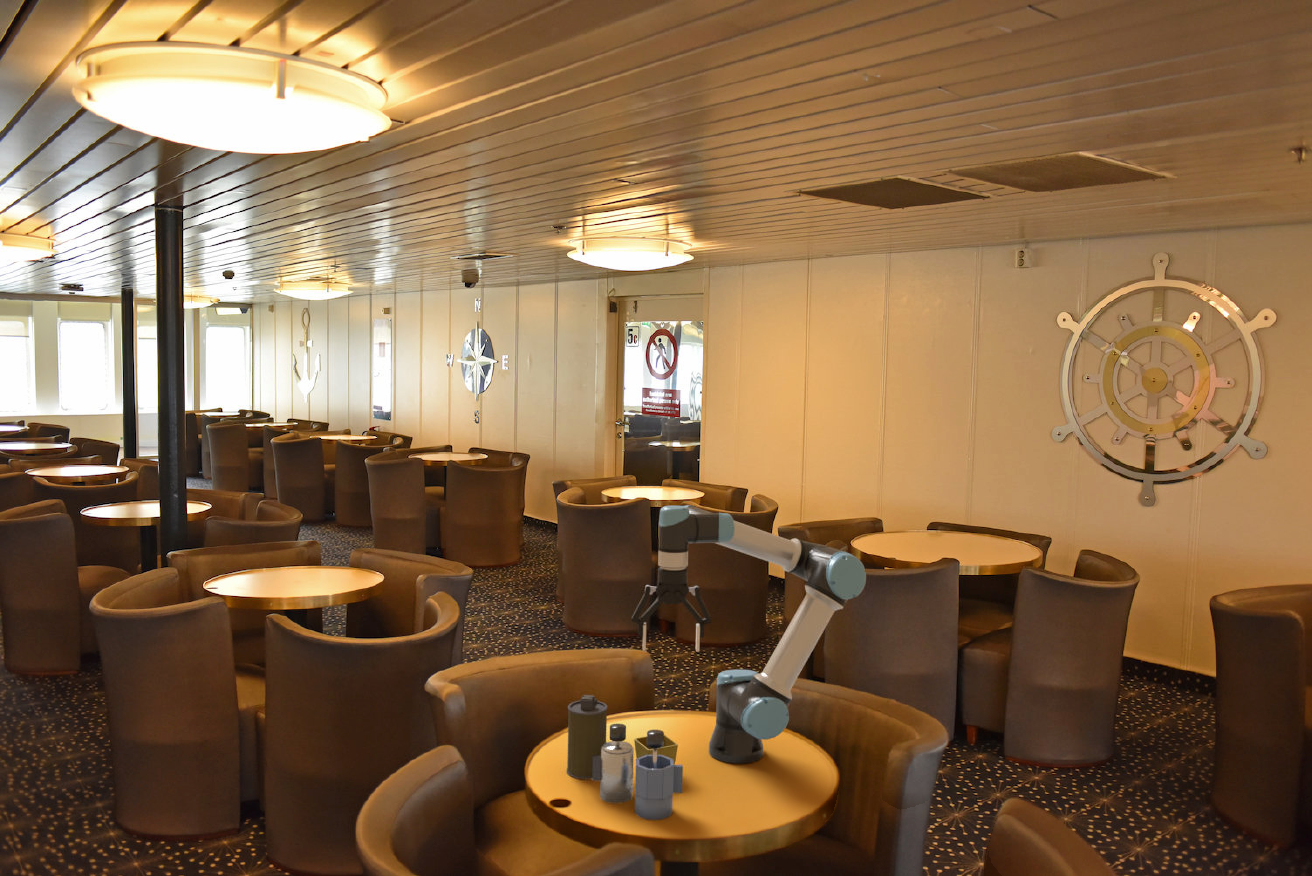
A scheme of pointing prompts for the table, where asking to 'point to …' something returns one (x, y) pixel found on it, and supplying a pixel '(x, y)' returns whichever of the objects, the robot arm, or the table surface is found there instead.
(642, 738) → the flower pot
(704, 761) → the table surface
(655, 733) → the plunger
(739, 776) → the table surface
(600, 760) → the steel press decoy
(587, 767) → the canister
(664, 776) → the blue mug
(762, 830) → the table surface
